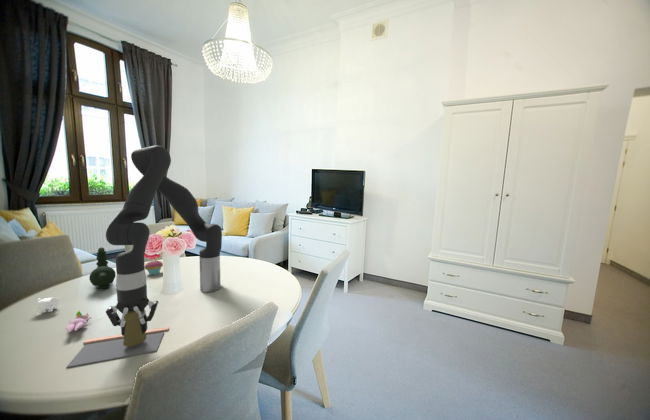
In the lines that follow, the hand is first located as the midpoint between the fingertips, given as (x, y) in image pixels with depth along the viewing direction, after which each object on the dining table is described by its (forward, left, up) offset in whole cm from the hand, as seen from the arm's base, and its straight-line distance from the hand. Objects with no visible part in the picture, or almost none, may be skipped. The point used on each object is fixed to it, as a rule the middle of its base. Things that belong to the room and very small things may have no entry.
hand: (134, 334), depth 81 cm
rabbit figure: (+22, -18, -5) cm, 29 cm away
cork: (0, 0, -2) cm, 2 cm away
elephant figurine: (+39, -35, -4) cm, 52 cm away
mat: (+4, 0, -4) cm, 6 cm away
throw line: (+4, -7, -4) cm, 9 cm away
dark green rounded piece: (+30, -58, -4) cm, 65 cm away
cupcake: (+11, -69, -4) cm, 70 cm away
